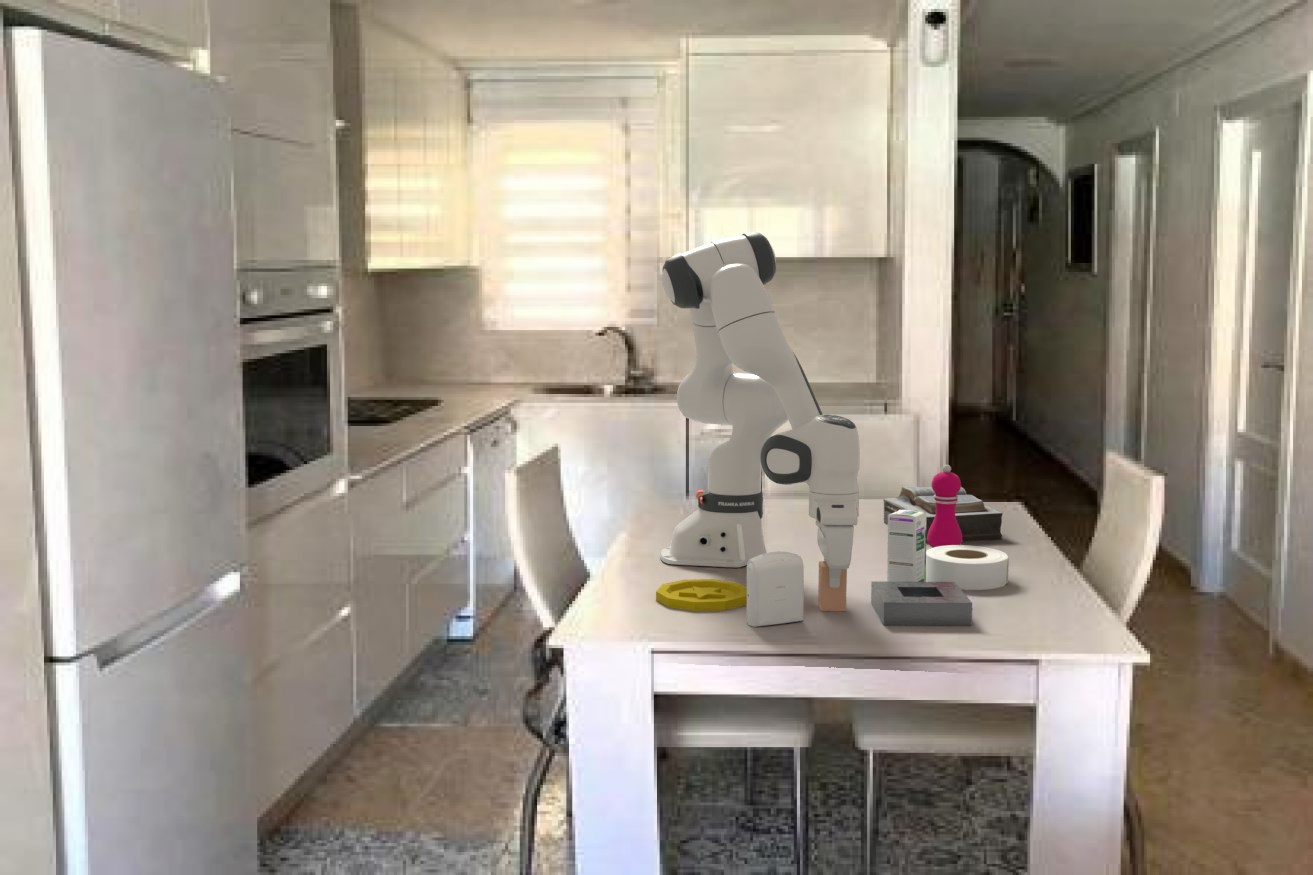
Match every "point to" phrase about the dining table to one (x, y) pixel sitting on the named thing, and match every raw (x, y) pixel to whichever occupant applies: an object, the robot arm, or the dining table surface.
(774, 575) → the photo printer
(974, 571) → the roll of tape
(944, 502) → the pepper mill
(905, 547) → the syrup box
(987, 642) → the dining table surface
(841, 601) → the square peg
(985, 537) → the bible
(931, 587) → the square hole block
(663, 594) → the decorative disc
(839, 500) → the robot arm
